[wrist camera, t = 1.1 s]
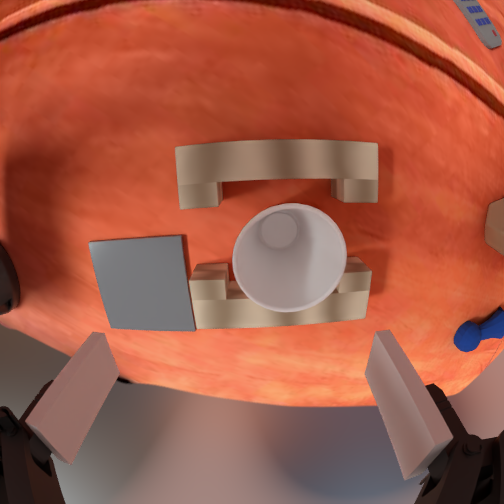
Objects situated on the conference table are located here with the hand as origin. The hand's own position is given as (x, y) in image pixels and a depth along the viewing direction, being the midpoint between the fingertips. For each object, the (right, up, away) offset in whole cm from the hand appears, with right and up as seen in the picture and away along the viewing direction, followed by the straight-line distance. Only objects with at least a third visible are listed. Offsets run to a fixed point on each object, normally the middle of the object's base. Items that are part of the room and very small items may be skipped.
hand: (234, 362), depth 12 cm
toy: (+47, -10, +28) cm, 56 cm away
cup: (+4, +8, +22) cm, 23 cm away
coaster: (-15, 0, +24) cm, 28 cm away
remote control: (+39, +52, +7) cm, 66 cm away
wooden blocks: (+4, +8, +21) cm, 23 cm away
